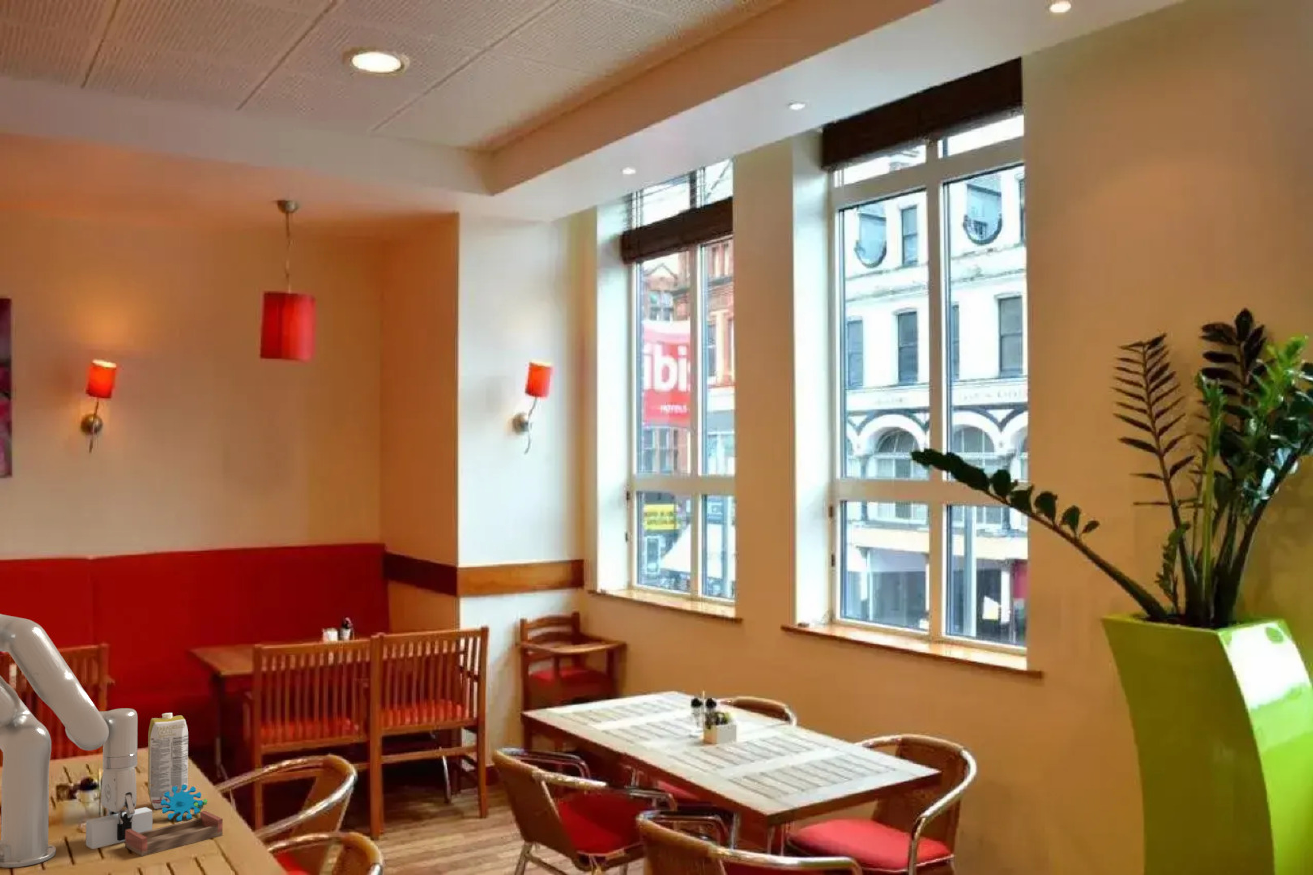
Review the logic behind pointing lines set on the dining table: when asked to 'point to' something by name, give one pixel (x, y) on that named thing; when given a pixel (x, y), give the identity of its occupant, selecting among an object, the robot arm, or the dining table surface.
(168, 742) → the juice carton
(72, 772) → the dining table surface
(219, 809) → the dining table surface
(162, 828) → the cradle
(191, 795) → the blue spiky virus model
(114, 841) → the long white brick
